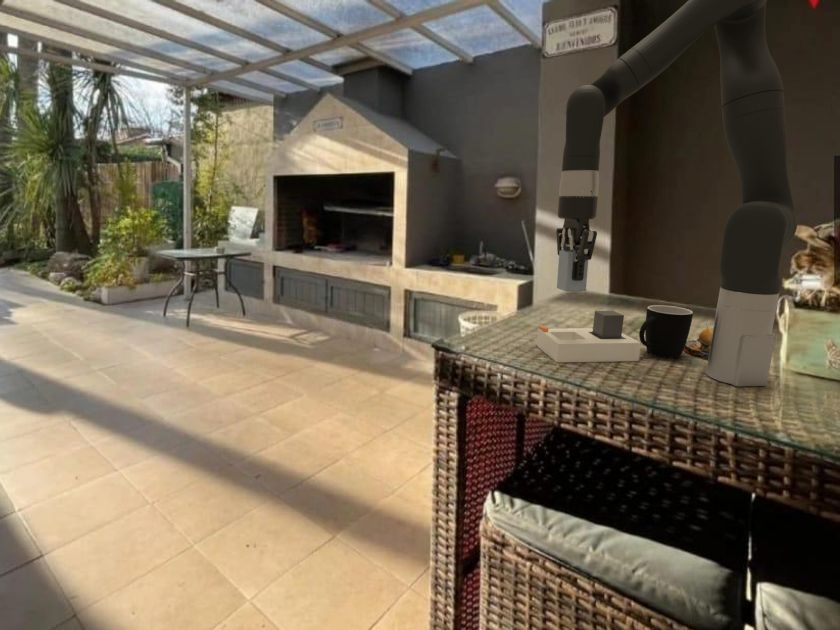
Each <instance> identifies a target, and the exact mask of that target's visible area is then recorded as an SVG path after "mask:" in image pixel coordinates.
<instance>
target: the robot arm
mask: <svg viewBox="0 0 840 630" xmlns="http://www.w3.org/2000/svg"><path fill="white" fill-rule="evenodd" d="M767 1H768V0H687V1H686V3H684V4H683V5H682V6H681V7H680V8H678V10H676V11H675V12H674V13H673V14H672V15H671V16H669V17H668V18H666V20H665V21H664V22H662V23H661V24H660V25H659V26H658V27H656V28H655V29H653V30H652V31H651V32H650V33H649V34H648V35H646V36H645V37H644V38H642V39H641V40H639V42H637V43H636V44H635V45H634V46H632V47H631V48H630V49H628V50H627V51H625V53H623V54H622V55H621V56H619V57H618V58H617V59H616V60H614V61H613V63H611V64H610V65H609V67H607V69H606V70H605V71H604V73H603V74H602V75H601V76H600V77H598V78H597V79H595V80H594V81H593V82H592V83H590V84H586V85H581V86H579V87H577V88H576V89H574V90H573V92H572V93H571V94H570V95H569V97H568V99H567V102H566V105H565V106H566V107H565V108H566V109H565V115H566V116H565V143H564V148H563V153H562V154H563V155H562V165H561V176H560V181H559V188H558V189H559V190H558V191H559V193H558V206H557V217H558V218H559V219H561V220H562V219H564V221H563V225H562V227H558V228H556V247H557V248H556V249H557V250H556V251H557V255H558V256H559V250H571V251H572V252H573V261H574V262H573V270H572V280H574V281H582V280H583V277H584V265H585V262H586V261H587V260H588V261H591V260H592V258H593V252H594V248H595V244H596V242H597V241H596V240H597V237H598V232H597V231H596V230H591V229H590V220H595V219H596V217H597V210H598V199H599V198H598V197H599V187H600V178H599V177H600V176H599V169H600V157H601V137H602V132H603V126H604V119H605V117H606V116H607V115H609V114H610V113H611V112H612V111H613V110H615V108H616V107H618V106H619V105H620V104H621V103H623V101H624V100H626V99H628V98H629V97H630V96H632V95H634V94H635V93H637V92H638V91H640V89H642V88H643V87H645V86H646V85H647V84H648V83H650V82H651V81H653V80H654V79H655V78H656V77H658V76H659V75H660V74H661V73H662V72H663V73H664V71H665V70H666V69H667V68H668V67H670V66H671V65H672V64H673V63H674V62H675V61H676V60H677V59H678V58H679V57H680V56H681V55H682V54H683V53H684V52H685V51H686V50H687V49H688V48H689V47H690V46H692V44H693V43H695V42H696V41H697V40H698V39H699V38H700V37H701V36H702V35H704V34H705V33H706V32H707V31H709V30H710V29H711V28H712V27H713V26H714V30H715V35H716V41H717V44H718V51H719V58H720V60H719V62H720V63H719V64H720V66H719V67H720V69H719V70H720V71H719V73H720V74H719V75H720V77H719V78H720V96H721V97H720V98H721V99H720V100H721V101H720V103H721V115H722V124H723V125H722V126H723V133H724V138H725V142H726V144H727V147H728V151H729V152H730V155H731V157H732V161H733V162H734V166H735V167H736V169H737V173H738V176H739V181H740V187H741V188H740V189H741V190H740V191H741V205H739V206H738V207H737V208H736V209H734V211H732V213H731V214H730V215H729V217H728V219H727V221H726V224H725V228H724V232H723V236H722V245H721V253H720V260H719V261H720V263H719V273H720V278H721V280H720V286H719V287H720V288H719V293H718V300H717V303H716V309H715V317H714V321H713V322H714V323H713V328H712V329H713V333H712V339H711V345H710V351H709V358H708V360H707V365H706V372H705V373H706V375H707V377H709V378H711V379H714V380H715V381H719V382H721V383H725V384H730V385H732V386H734V387H766V386H767V384H768V383H767V382H768V378H769V373H770V369H771V368H770V367H771V363H772V358H773V353H774V349H775V347H774V346H775V342H776V336H775V335H772V332H773V328H774V324H775V323H774V322H775V318H776V312H777V311H776V310H777V307H778V303H779V298H780V293H781V287H782V283H783V281H782V280H783V279H782V277H781V274H780V264H781V263H780V262H781V256H782V252H783V248H784V247H785V246H788V244H789V243H790V242H791V241H792V240H793V238H794V237H795V236H796V235H795V234H796V232H797V229H798V218H797V213H796V209H795V203H794V200H793V194H792V190H791V186H790V180H789V174H788V161H787V160H788V159H787V158H788V154H787V153H788V145H787V142H788V139H787V126H786V125H787V124H786V122H787V121H786V104H785V93H784V84H783V80H782V76H781V74H780V71H779V69H778V67H777V64H776V62H775V61H774V59H773V57H772V54H771V53H770V52H771V51H770V49H769V46H768V43H767V37H766V34H767V33H766V6H767ZM577 251H578V252H577Z"/></svg>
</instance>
